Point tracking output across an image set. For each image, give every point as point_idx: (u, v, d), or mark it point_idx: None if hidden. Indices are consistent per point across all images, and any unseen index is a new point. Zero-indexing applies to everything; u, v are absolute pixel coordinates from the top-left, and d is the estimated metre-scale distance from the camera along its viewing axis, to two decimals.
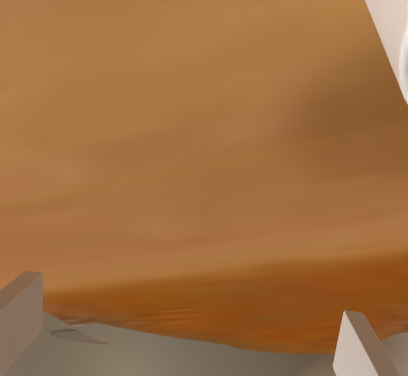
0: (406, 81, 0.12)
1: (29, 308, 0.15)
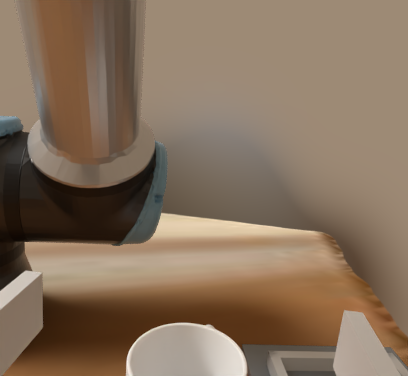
0: None
1: (29, 308, 0.15)
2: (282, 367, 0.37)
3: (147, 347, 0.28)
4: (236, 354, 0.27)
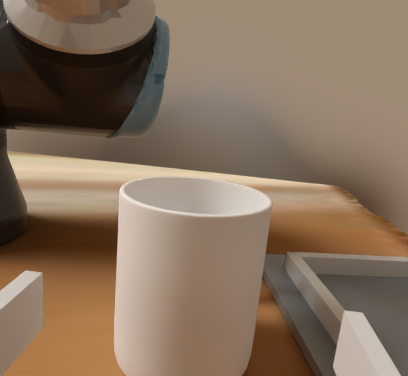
0: (130, 197, 0.18)
1: (29, 308, 0.15)
2: (304, 263, 0.31)
3: (146, 197, 0.23)
4: (256, 199, 0.22)
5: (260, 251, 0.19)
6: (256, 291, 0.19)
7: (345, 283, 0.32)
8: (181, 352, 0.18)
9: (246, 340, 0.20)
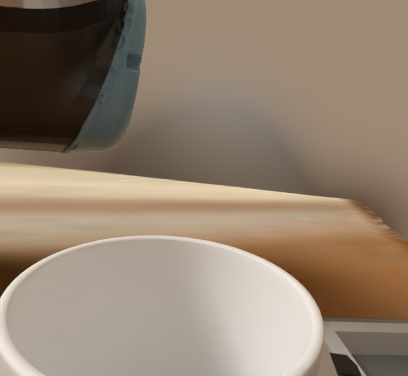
0: (3, 331, 0.08)
1: None
2: (342, 346, 0.21)
3: (81, 280, 0.13)
4: (283, 290, 0.12)
5: None
6: None
7: (401, 373, 0.22)
8: None
9: None
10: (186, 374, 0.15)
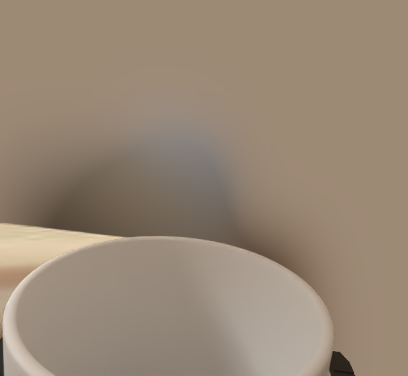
0: (13, 330, 0.08)
1: None
2: None
3: (89, 280, 0.13)
4: (292, 292, 0.12)
5: None
6: None
7: None
8: None
9: None
10: (193, 375, 0.15)
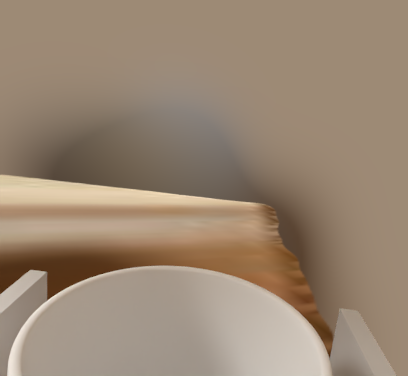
0: None
1: (34, 307, 0.15)
2: None
3: (92, 312, 0.13)
4: (292, 328, 0.12)
5: None
6: None
7: None
8: None
9: None
10: None
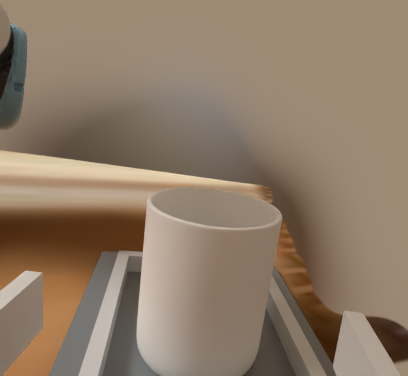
0: (157, 209, 0.21)
1: (29, 308, 0.15)
2: (124, 262, 0.32)
3: (168, 205, 0.25)
4: (267, 211, 0.24)
5: (270, 260, 0.21)
6: (265, 295, 0.22)
7: None
8: (197, 345, 0.21)
9: (254, 338, 0.22)
10: None
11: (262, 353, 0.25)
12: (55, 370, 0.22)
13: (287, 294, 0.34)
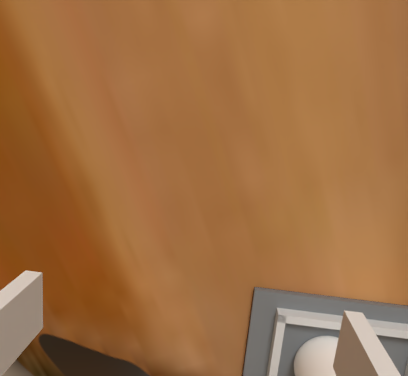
0: None
1: (29, 308, 0.15)
2: None
3: None
4: None
5: None
6: None
7: (395, 356, 0.46)
8: (297, 371, 0.44)
9: None
10: None
11: None
12: (314, 299, 0.45)
13: None
